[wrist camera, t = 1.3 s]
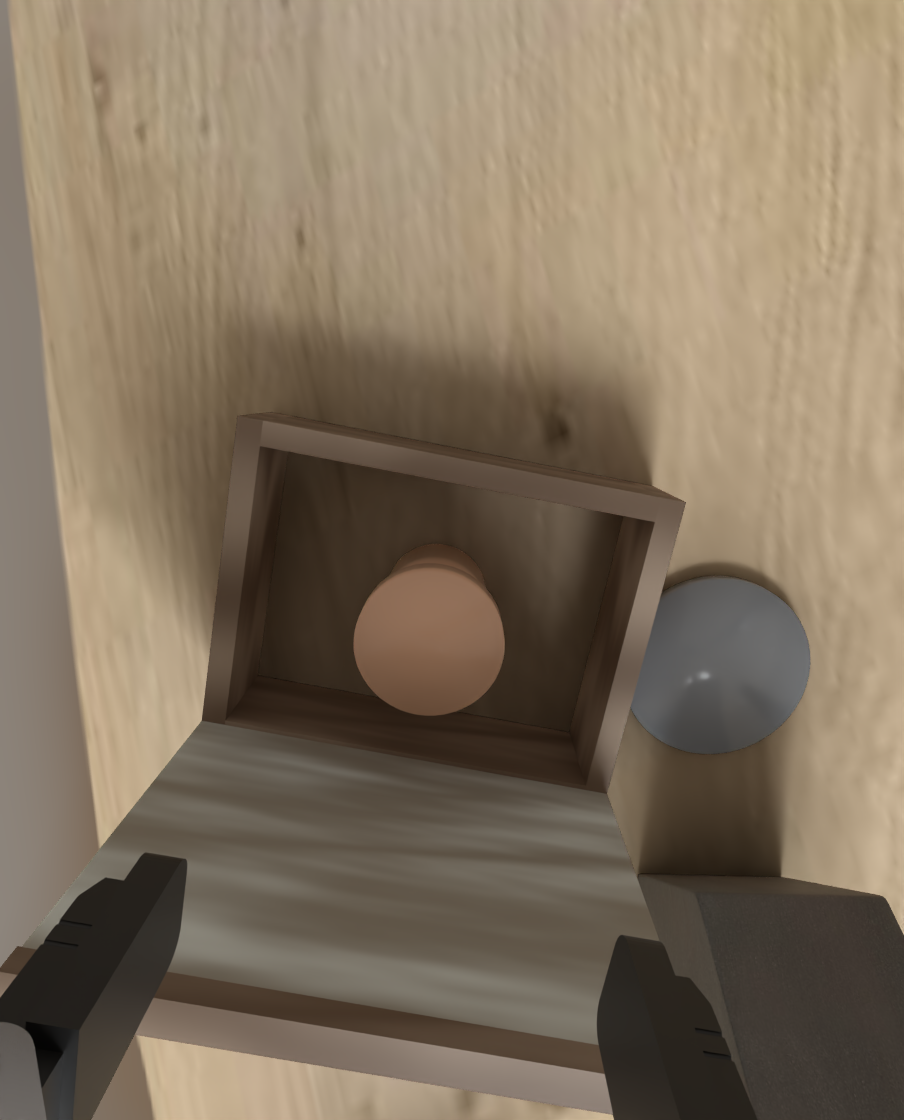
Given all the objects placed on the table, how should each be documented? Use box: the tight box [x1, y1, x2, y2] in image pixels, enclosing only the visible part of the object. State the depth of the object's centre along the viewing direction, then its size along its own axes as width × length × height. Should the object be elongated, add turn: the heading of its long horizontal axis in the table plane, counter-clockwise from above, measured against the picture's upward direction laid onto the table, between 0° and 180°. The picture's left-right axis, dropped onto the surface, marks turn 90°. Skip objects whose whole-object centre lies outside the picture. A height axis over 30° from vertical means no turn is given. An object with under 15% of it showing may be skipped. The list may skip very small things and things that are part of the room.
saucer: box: [630, 576, 810, 754], centre depth 34 cm, size 9×9×1 cm
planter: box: [638, 874, 904, 1120], centre depth 30 cm, size 17×8×21 cm
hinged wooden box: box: [0, 412, 686, 1115], centre depth 25 cm, size 14×18×19 cm
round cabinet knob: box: [353, 544, 505, 716], centre depth 31 cm, size 6×6×8 cm
